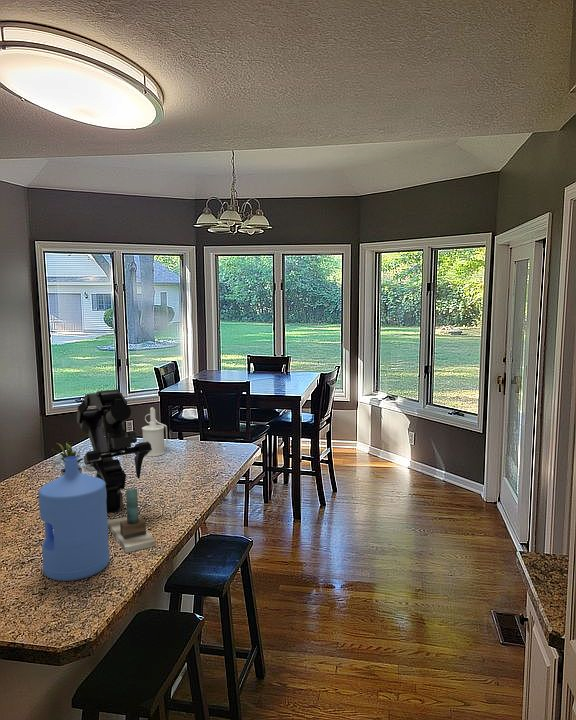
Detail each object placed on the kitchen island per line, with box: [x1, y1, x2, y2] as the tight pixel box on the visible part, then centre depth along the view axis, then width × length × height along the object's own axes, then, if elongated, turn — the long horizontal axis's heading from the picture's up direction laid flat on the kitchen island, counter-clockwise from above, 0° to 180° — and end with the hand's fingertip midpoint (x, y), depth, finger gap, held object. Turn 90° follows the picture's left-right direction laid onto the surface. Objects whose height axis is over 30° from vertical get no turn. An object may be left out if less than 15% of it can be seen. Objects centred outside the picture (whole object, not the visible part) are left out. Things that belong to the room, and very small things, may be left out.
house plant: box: [52, 442, 91, 476], centre depth 197 cm, size 14×14×16 cm
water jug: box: [38, 455, 111, 582], centre depth 138 cm, size 16×16×28 cm
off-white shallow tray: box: [107, 516, 157, 554], centre depth 157 cm, size 20×8×2 cm, turn 31°
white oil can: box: [141, 407, 168, 458], centre depth 237 cm, size 10×9×20 cm
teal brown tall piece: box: [120, 488, 147, 539], centre depth 154 cm, size 4×6×12 cm, turn 121°
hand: (123, 481), depth 163 cm, fingers open, 9 cm apart
